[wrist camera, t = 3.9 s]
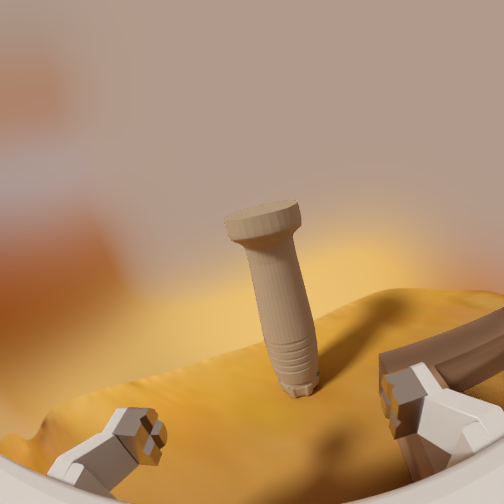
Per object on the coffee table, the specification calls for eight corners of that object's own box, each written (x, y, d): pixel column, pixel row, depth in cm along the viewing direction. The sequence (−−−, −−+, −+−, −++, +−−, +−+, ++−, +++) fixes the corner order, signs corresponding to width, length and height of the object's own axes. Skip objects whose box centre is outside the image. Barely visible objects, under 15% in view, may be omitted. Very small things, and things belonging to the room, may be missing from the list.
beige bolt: (323, 360, 25) (293, 197, 22) (335, 406, 19) (301, 205, 16) (273, 370, 26) (231, 211, 23) (272, 417, 20) (216, 225, 16)
